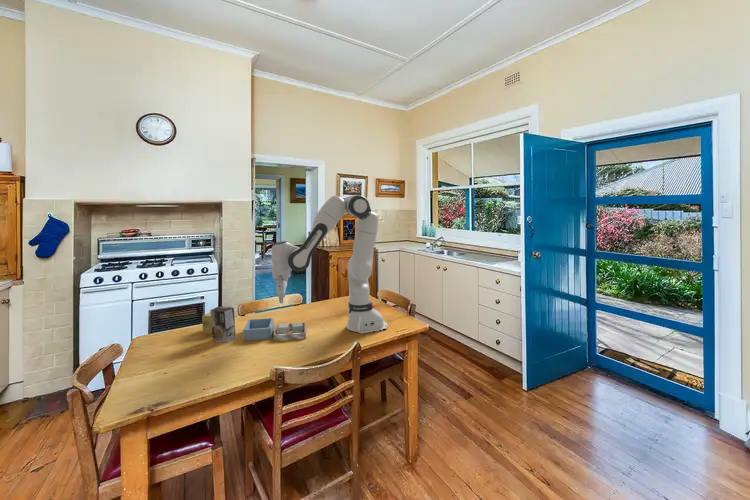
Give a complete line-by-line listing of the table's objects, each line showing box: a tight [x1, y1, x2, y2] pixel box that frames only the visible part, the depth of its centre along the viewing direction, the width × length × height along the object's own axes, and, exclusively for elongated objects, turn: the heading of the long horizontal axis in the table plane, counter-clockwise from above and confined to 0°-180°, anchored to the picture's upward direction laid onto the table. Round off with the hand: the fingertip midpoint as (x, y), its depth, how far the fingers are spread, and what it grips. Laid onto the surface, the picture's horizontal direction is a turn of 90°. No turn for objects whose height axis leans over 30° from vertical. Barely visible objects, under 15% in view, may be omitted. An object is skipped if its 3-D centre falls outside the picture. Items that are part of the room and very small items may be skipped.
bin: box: [242, 317, 275, 341], centre depth 167 cm, size 13×15×6 cm
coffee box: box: [209, 305, 237, 344], centre depth 159 cm, size 9×6×16 cm
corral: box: [273, 322, 307, 342], centre depth 167 cm, size 16×15×3 cm
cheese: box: [201, 311, 213, 335], centre depth 170 cm, size 10×11×10 cm
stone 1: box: [277, 323, 290, 335], centre depth 166 cm, size 5×5×5 cm
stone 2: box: [291, 322, 304, 333], centre depth 167 cm, size 5×5×5 cm
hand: (282, 300), depth 163 cm, fingers open, 8 cm apart
